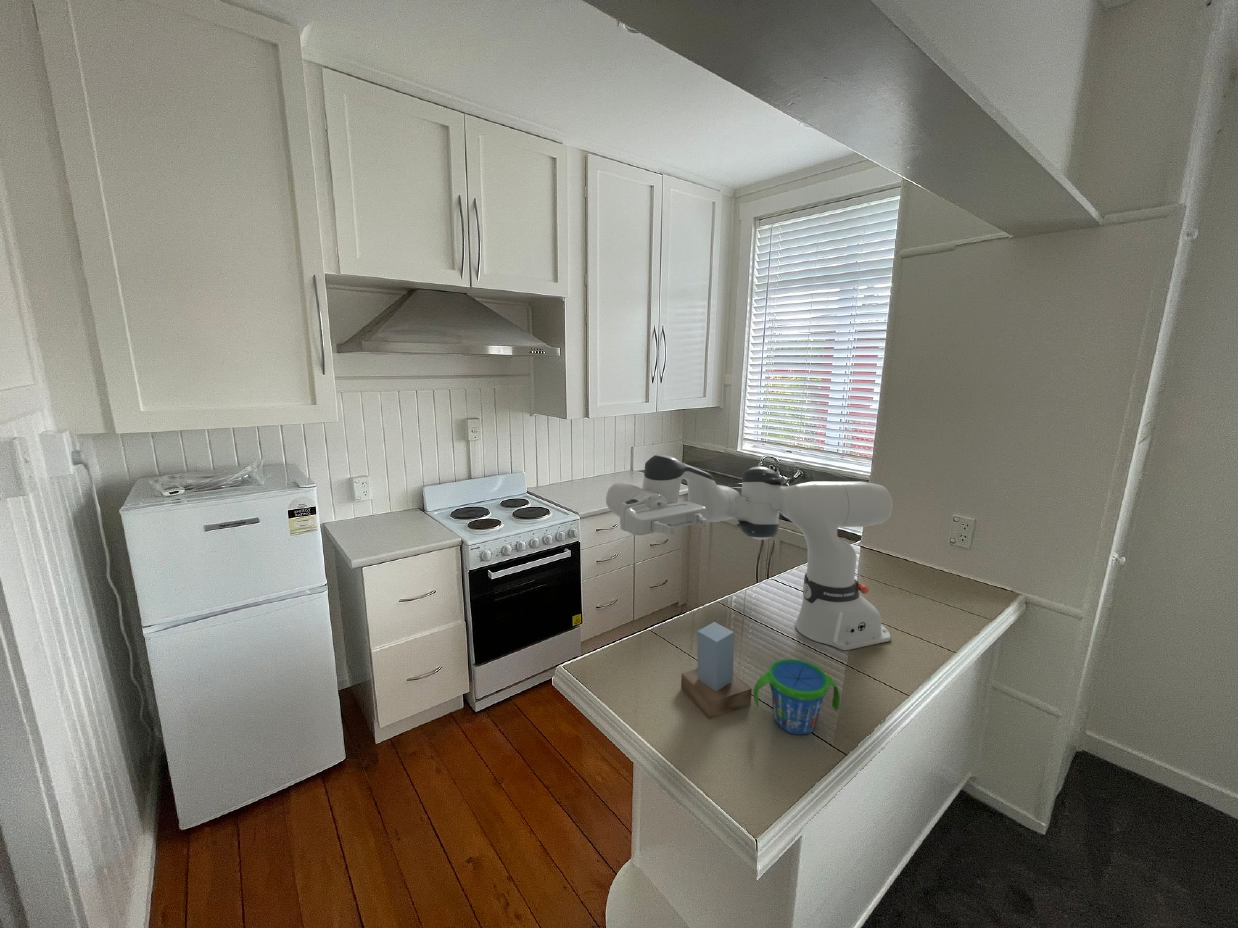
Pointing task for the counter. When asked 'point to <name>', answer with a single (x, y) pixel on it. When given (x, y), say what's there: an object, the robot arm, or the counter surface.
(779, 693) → the snack cup
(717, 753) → the counter surface
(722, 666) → the pillar
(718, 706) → the walnut base
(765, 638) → the counter surface
